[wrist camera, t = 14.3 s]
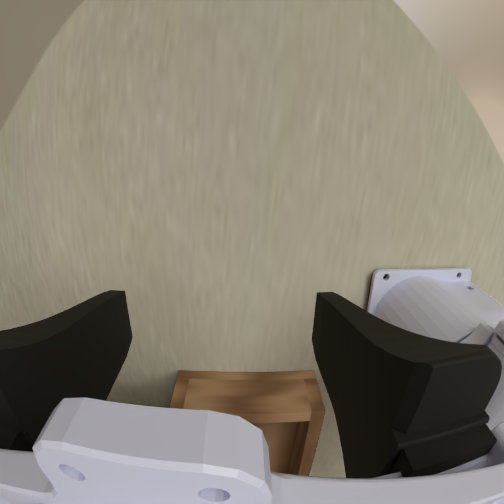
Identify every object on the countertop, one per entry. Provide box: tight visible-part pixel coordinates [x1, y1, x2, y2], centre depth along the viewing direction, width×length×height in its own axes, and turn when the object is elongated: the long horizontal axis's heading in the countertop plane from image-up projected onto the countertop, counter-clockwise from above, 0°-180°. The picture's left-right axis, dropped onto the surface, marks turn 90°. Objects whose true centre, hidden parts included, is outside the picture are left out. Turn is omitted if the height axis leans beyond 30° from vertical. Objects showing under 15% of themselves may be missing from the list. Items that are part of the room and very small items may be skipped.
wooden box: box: [169, 370, 325, 476], centre depth 25 cm, size 11×16×5 cm
